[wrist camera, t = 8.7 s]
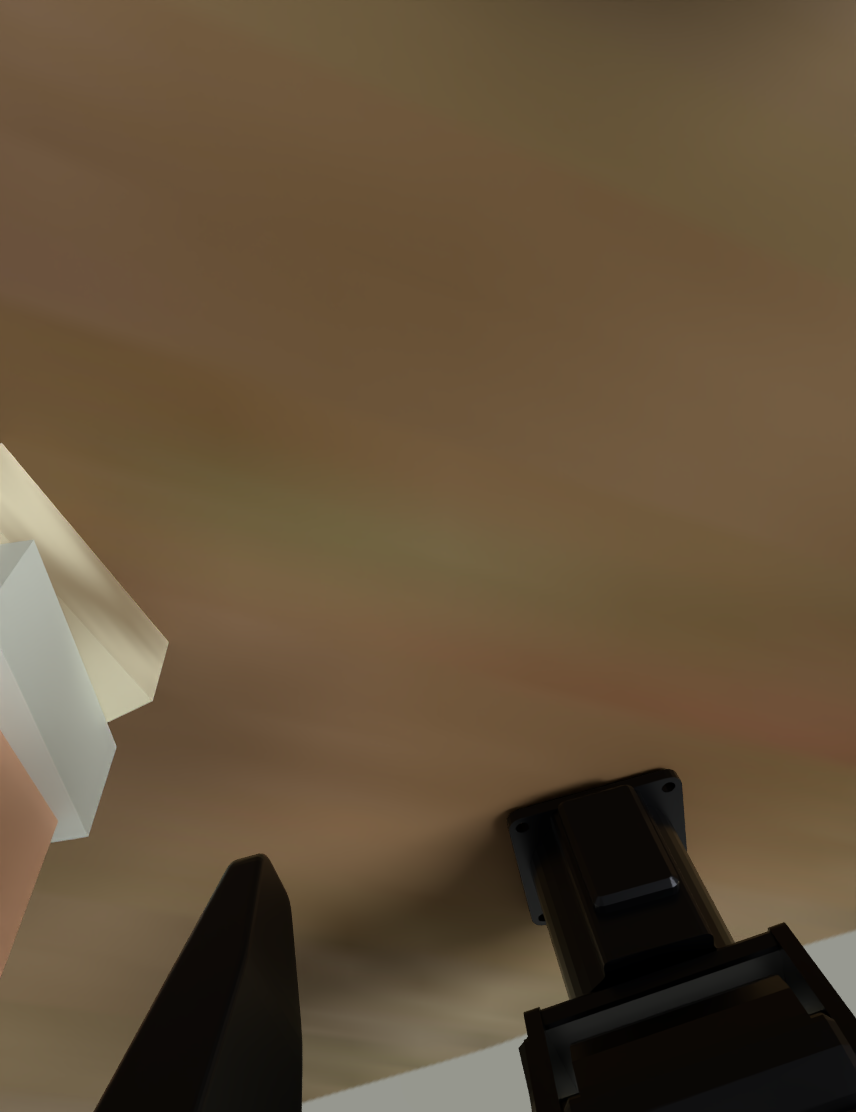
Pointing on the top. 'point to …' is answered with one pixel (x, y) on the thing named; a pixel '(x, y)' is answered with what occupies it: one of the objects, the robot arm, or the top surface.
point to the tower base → (85, 597)
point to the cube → (19, 843)
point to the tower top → (49, 695)
